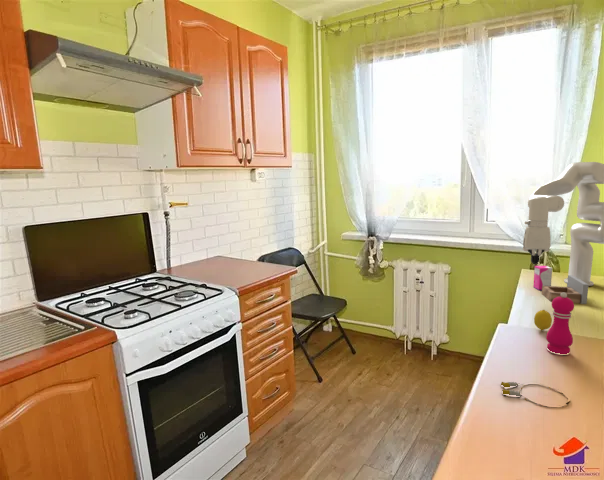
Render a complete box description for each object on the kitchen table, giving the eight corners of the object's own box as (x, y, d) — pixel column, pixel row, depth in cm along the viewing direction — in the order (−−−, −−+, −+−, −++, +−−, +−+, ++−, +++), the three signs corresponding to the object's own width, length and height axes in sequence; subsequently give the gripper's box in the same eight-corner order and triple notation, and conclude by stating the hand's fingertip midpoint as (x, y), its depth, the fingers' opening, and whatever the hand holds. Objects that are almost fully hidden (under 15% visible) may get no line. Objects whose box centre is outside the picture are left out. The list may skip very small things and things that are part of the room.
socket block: (541, 293, 186) (542, 285, 186) (569, 295, 183) (569, 287, 183) (550, 301, 175) (551, 292, 174) (580, 303, 172) (581, 294, 172)
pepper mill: (567, 348, 129) (573, 290, 126) (574, 358, 122) (581, 296, 119) (542, 345, 131) (547, 288, 128) (548, 355, 125) (553, 294, 121)
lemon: (549, 328, 145) (551, 308, 144) (551, 334, 140) (553, 313, 139) (532, 326, 148) (534, 306, 146) (534, 332, 143) (535, 311, 141)
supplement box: (544, 287, 197) (546, 265, 195) (550, 291, 191) (553, 268, 189) (532, 287, 198) (534, 265, 196) (538, 290, 192) (540, 268, 190)
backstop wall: (566, 293, 187) (568, 275, 186) (570, 293, 187) (572, 275, 185) (581, 304, 172) (583, 284, 170) (586, 304, 171) (588, 284, 170)
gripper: (522, 225, 175) (519, 265, 178) (559, 225, 171) (556, 265, 174) (517, 222, 182) (514, 261, 185) (553, 222, 178) (549, 262, 181)
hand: (534, 263), depth 180 cm, fingers closed
